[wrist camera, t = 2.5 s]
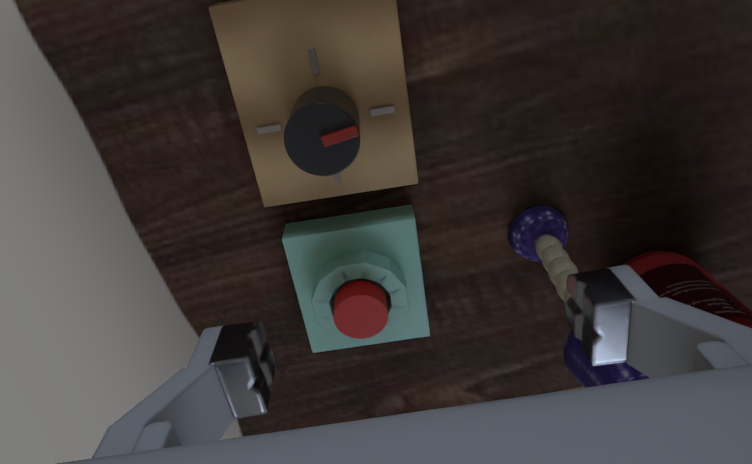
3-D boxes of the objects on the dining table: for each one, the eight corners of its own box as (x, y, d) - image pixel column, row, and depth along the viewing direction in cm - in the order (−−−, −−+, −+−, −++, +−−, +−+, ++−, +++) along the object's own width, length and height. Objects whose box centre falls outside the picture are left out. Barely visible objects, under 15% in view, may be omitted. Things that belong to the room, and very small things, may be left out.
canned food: (652, 342, 43) (740, 454, 33) (578, 306, 41) (648, 415, 31) (721, 273, 40) (839, 374, 30) (645, 230, 38) (745, 324, 28)
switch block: (285, 223, 37) (278, 251, 33) (411, 203, 36) (417, 230, 33) (314, 333, 41) (310, 369, 38) (426, 317, 41) (433, 351, 37)
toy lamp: (497, 258, 39) (586, 444, 24) (503, 201, 36) (605, 366, 22) (561, 255, 39) (689, 438, 24) (571, 198, 37) (718, 361, 22)
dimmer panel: (218, 3, 30) (206, 7, 27) (390, -27, 29) (393, -25, 27) (269, 192, 35) (263, 209, 33) (414, 169, 35) (419, 184, 33)
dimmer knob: (307, 160, 32) (300, 188, 28) (280, 99, 30) (270, 119, 26) (368, 139, 31) (370, 165, 28) (345, 75, 29) (344, 93, 26)
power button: (329, 284, 35) (328, 299, 33) (382, 276, 35) (383, 290, 33) (339, 326, 36) (338, 342, 35) (390, 318, 36) (391, 334, 35)
